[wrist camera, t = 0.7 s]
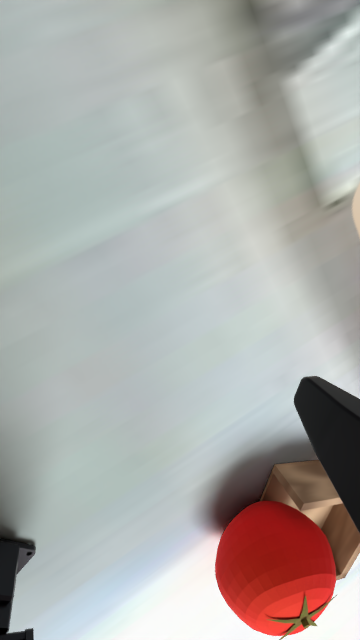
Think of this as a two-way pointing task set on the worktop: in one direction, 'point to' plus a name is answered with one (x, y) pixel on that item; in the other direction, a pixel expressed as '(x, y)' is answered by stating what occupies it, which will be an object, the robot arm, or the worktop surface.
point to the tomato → (275, 568)
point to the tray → (316, 507)
